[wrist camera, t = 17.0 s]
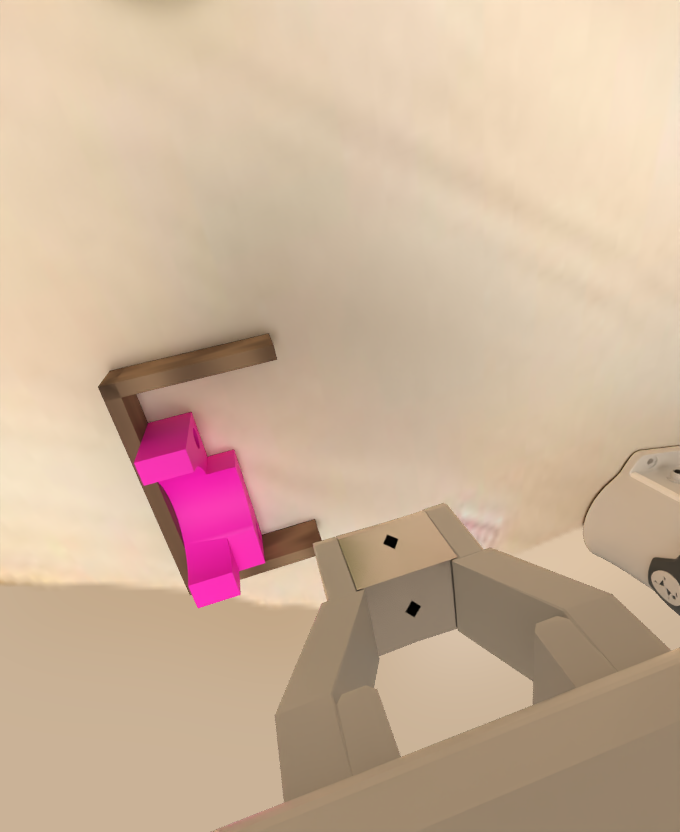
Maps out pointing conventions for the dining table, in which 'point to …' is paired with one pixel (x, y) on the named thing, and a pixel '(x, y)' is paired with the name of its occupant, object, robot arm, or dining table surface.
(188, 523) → the toy block
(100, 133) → the dining table surface
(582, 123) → the dining table surface
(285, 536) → the walnut bay
